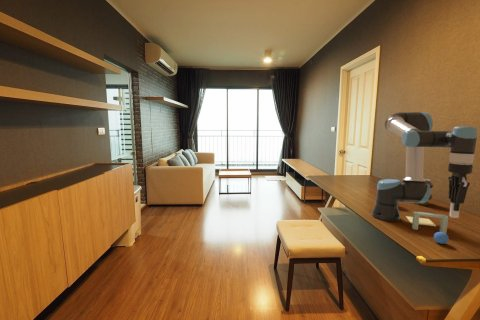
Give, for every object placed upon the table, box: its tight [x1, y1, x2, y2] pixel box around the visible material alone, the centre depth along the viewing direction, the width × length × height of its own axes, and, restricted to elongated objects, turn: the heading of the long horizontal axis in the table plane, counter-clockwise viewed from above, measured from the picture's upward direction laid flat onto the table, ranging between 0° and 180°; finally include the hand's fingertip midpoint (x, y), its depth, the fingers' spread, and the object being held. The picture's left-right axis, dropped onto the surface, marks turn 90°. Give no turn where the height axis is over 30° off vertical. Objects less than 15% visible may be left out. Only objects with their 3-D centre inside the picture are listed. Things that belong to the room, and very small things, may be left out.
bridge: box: [411, 210, 449, 234], centre depth 130 cm, size 3×14×9 cm, turn 69°
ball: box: [433, 231, 450, 245], centre depth 116 cm, size 6×6×6 cm
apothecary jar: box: [416, 178, 434, 206], centre depth 178 cm, size 12×12×18 cm
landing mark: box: [405, 215, 437, 227], centre depth 144 cm, size 12×12×1 cm
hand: (453, 217), depth 105 cm, fingers closed
